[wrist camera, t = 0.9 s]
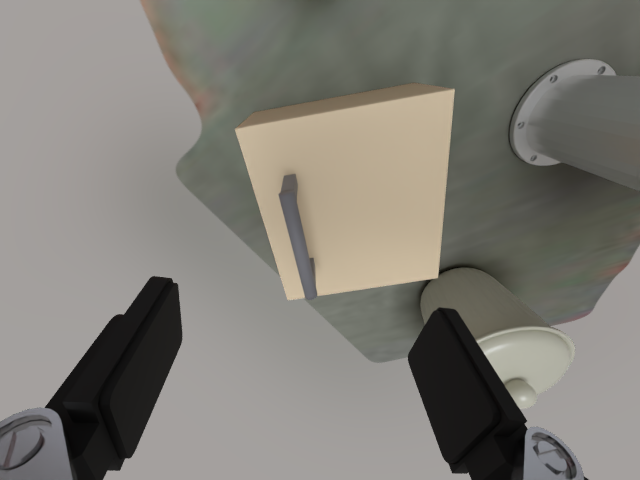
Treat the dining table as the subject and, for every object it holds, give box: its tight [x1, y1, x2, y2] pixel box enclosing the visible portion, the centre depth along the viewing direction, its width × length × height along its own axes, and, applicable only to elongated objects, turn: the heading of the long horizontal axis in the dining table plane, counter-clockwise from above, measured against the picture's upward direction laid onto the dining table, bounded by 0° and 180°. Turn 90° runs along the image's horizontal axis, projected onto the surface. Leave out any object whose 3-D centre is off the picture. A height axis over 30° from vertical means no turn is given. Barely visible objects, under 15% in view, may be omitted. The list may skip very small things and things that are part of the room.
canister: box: [420, 267, 575, 409], centre depth 44 cm, size 18×18×21 cm
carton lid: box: [235, 88, 455, 300], centre depth 29 cm, size 20×22×6 cm
